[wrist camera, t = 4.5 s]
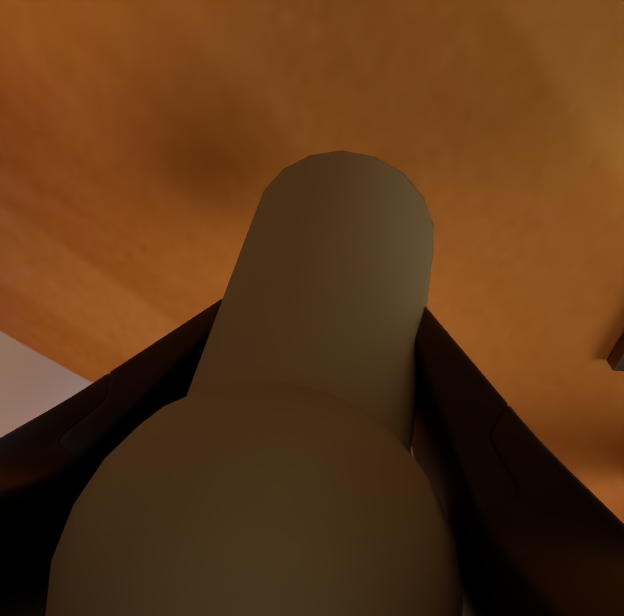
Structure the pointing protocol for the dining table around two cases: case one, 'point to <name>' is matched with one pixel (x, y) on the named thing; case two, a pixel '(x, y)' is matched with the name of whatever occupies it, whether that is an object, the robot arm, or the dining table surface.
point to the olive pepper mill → (284, 431)
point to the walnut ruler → (617, 356)
